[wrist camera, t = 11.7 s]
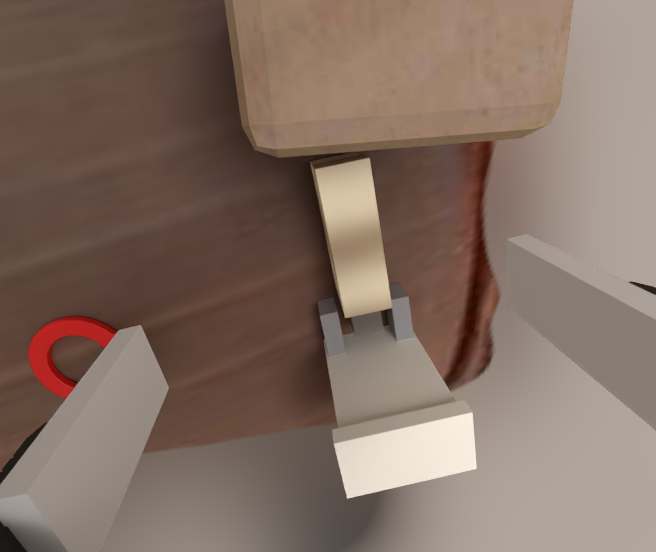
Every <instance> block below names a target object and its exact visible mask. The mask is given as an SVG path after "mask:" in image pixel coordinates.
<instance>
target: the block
mask: <svg viewBox="0 0 656 552" xmlns="http://www.w3.org/2000/svg"><path fill="white" fill-rule="evenodd" d="M224 2H225V9H226V17H227V24H228V31H229V38H230V45H231V52H232V59H233V66H234V74H235V81H236V88H237V95H238V102H239V109H240V116H241V124H242V128H243V129H244V131H245V133H246V135H247V137H248V139H249V140H250V142H251V144H252V146H253V148H254V149H255V150H257V151H260V152H263V153H266V154H269V155H272V156H275V157H278V158H282V157H294V156H307V155H319V154H331V153H344V152H356V151H368V150H381V149H393V148H405V147H418V146H430V145H442V144H455V143H467V142H479V141H492V140H504V139H516V138H523V137H524V136H526V135H528V134H530V133H532V132H534V131H536V130H538V129H540V128H542V127H544V126H546V125H548V124H550V123H551V121H552V119H553V117H554V115H555V113H556V110H557V108H558V106H559V104H560V99H561V92H562V84H563V77H564V69H565V61H566V53H567V46H568V39H569V31H570V23H571V15H572V8H573V0H224Z"/></svg>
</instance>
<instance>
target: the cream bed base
mask: <svg viewBox="0 0 656 552" xmlns="http://www.w3.org/2000/svg"><path fill="white" fill-rule="evenodd" d="M389 290H390V296H391V303H392V308H390V309H386V311H387V318H388V324H389V325H386V326H383V328H384V331H382V332H378V333H373V334H369V335H365V336H360V337H355V334H354V333H350V334H345V335H342V331H341V326H340V321H339V316H338V312H337V308H336V304H335V301H334V297H332V298H327V299H323V300H318V301H317V303H318V309H319V314H320V319H321V324H322V328H323V332H324V337H325V339H323V341H324V347H325V353H326V359H327V365H328V371H329V377H330V383H331V389H332V395H333V401H334V406H335V412H336V418H337V424H338V428H337V429H333V430H332V435H333V441H334V446H335V450H336V454H337V459H338V463H339V467H340V471H341V475H342V478H343V482H344V487H345V491H346V495H347V498H352V497H356V496H360V495H365V494H369V493H373V492H377V491H382V490H386V489H391V488H395V487H399V486H404V485H408V484H413V483H417V482H421V481H425V480H430V479H434V478H438V477H443V476H447V475H452V474H456V473H460V472H464V471H469V470H473V469H476V455H475V440H474V427H473V413H472V411H471V409H470V408H469V406H468V405H467V403H466V401H465V400H461V401H457V402H456V400H455V399H454V397H453V396H452V394H451V392H450V391H449V389H448V387H447V386H446V384H445V382H444V381H443V379H442V378H441V376H440V374H439V373H438V371H437V369H436V368H435V366H434V364H433V363H432V361H431V360H430V358H429V356H428V355H427V353H426V351H425V350H424V348H423V346H422V345H421V343H420V342H419V340H418V338H417V337H416V335H415V333H414V332H413V327H412V320H411V312H410V304H409V297H408V295H407V294H406V292H405V291H404V289H403V288H402V286H401V285H400V284H399V283H396V284H391V285H389Z"/></svg>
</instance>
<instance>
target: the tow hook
mask: <svg viewBox="0 0 656 552" xmlns="http://www.w3.org/2000/svg"><path fill="white" fill-rule="evenodd" d="M117 332H118V331H117V330H113V329H112V328H110V327H109V326H107V325H105V324H103V323H101V322H99V321H97V320H94V319H90V318H86V317H75V316H69V317H64V318H59V319H56V320H54V321H52V322H50V323H48V324H46V325H45V326H44V327H42V328H41V329H40V330H39V331H38V332H37V333H36V334H35V335H34V337H33V339H32V341H31V343H30V346H29V361H30V365H31V368H32V370H33V372H34V373H35V375H36V377H37V378H38V379H39V381H40V382H41V383H42V384H43V385H44V386H45V387H46V388H48V389H49V390H50V391H52V392H53V393H55V394H56V395H59V396H61V397H63V398H65V399H66V398H67V397H68V396H69V394H70V393H71V392H72V390H73V389H74V388H75V387H76V385H77V384H78V383H75V382H73V381H71V380H68V379H67V378H66V377H64V376H63V375H61V373H60V372H59V371H58V370H57V369H56V367H55V365H54V364H53V361H52V356H51V352H52V347H53V345H54V343H55V341H56V340H58V339H60V338H62V337H65V336H70V335H78V336H83V337H88V338H90V339H92V340H94V341H96V342H98V343H99V344H100V345H101V346H103V347H104V348H105V347H106V346H107V345H108V344H109V342H110V341H111V340H112V338H113V337H114V336H115V334H116V333H117Z"/></svg>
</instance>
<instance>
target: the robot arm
mask: <svg viewBox="0 0 656 552" xmlns="http://www.w3.org/2000/svg"><path fill="white" fill-rule="evenodd" d="M506 252H507V287H508V307H509V308H510V309H511V310H512V311H514V312H515V313H516V314H517V315H518V316H520V317H521V318H522V319H523V320H524V321H525V322H527V323H528V324H529V325H530V326H531V327H533V328H534V329H535V330H536V331H537V332H539V333H540V334H541V335H542V336H543V337H545V338H546V339H547V340H548V341H550V342H551V343H552V344H553V345H554V346H556V347H557V348H558V349H559V350H560V351H561V352H563V353H564V354H565V355H566V356H567V357H569V358H570V359H571V360H572V361H573V362H575V363H576V364H577V365H578V366H579V367H581V368H582V369H583V370H584V371H585V372H587V373H588V374H589V375H590V376H591V377H593V378H594V379H595V380H596V381H598V382H599V383H600V384H601V385H602V386H603V387H605V388H606V389H607V390H608V391H609V392H611V393H612V394H613V395H614V396H615V397H617V398H618V399H619V400H620V401H621V402H623V403H624V404H625V405H626V406H627V407H629V408H630V409H631V410H632V411H633V412H635V413H636V414H637V415H638V416H639V417H641V418H642V419H643V420H644V421H645V422H647V423H648V424H649V425H650V426H651V427H653V428H654V429H655V430H656V288H655V287H652V286H648V285H644V284H640V283H636V282H627V281H624V280H622V279H620V278H618V277H616V276H614V275H612V274H610V273H608V272H605V271H603V270H601V269H599V268H597V267H595V266H593V265H591V264H589V263H586V262H584V261H582V260H580V259H578V258H576V257H574V256H572V255H570V254H567V253H565V252H563V251H561V250H559V249H557V248H555V247H553V246H551V245H549V244H546V243H544V242H542V241H540V240H538V239H536V238H533V237H531V236H529V235H527V234H526V235H522V236H517V237H513V238H509V239H506ZM168 390H169V386H168V384H167V382H166V380H165V378H164V375H163V373H162V371H161V369H160V366H159V364H158V362H157V360H156V358H155V355H154V353H153V351H152V349H151V347H150V344H149V342H148V340H147V338H146V335H145V333H144V331H143V329H142V327H141V325H138V326H134V327H129V328H125V329H121V330H118V332H117V333H116V334H115V336H114V337H113V338H112V340H111V341H110V342H109V344H108V345H107V346H106V347H105V349H104V350H103V351H102V353H101V354H100V355H99V357H98V358H97V359H96V360H95V362H94V363H93V364H92V366H91V367H90V368H89V370H88V371H87V372H86V374H85V375H84V376H83V377H82V379H81V380H80V381H79V383H78V384H77V385H76V387H75V388H74V389H73V390H72V392H71V393H70V394H69V396H68V397H67V398H66V400H65V401H64V402H63V404H62V405H61V406H60V407H59V409H58V410H57V411H56V413H55V414H54V415H53V417H52V418H51V419H50V420H49V422H46V423H44V424H43V425H42V426H41V427H40V428H39V429H37V430H36V431H35V432H34V433H33V434H31V435H30V436H29V437H28V438H27V439H26V440H25V441H24V442H23V444H22V445H21V446H20V448H19V449H18V450H17V451H16V453H15V454H14V455H13V456H14V458H11V459H10V460H9V461H8V463H7V464H6V465H5V466H4V468H3V469H2V470H3V472H0V552H101V551H102V548H103V546H104V543H105V541H106V539H107V536H108V534H109V531H110V529H111V527H112V524H113V521H114V519H115V517H116V515H117V512H118V510H119V507H120V505H121V503H122V500H123V498H124V495H125V493H126V490H127V488H128V486H129V483H130V481H131V478H132V476H133V474H134V471H135V469H136V466H137V464H138V462H139V459H140V457H141V454H142V452H143V450H144V447H145V445H146V442H147V440H148V438H149V435H150V433H151V430H152V428H153V426H154V423H155V421H156V418H157V416H158V414H159V411H160V409H161V406H162V404H163V402H164V399H165V397H166V394H167V392H168Z"/></svg>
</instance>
